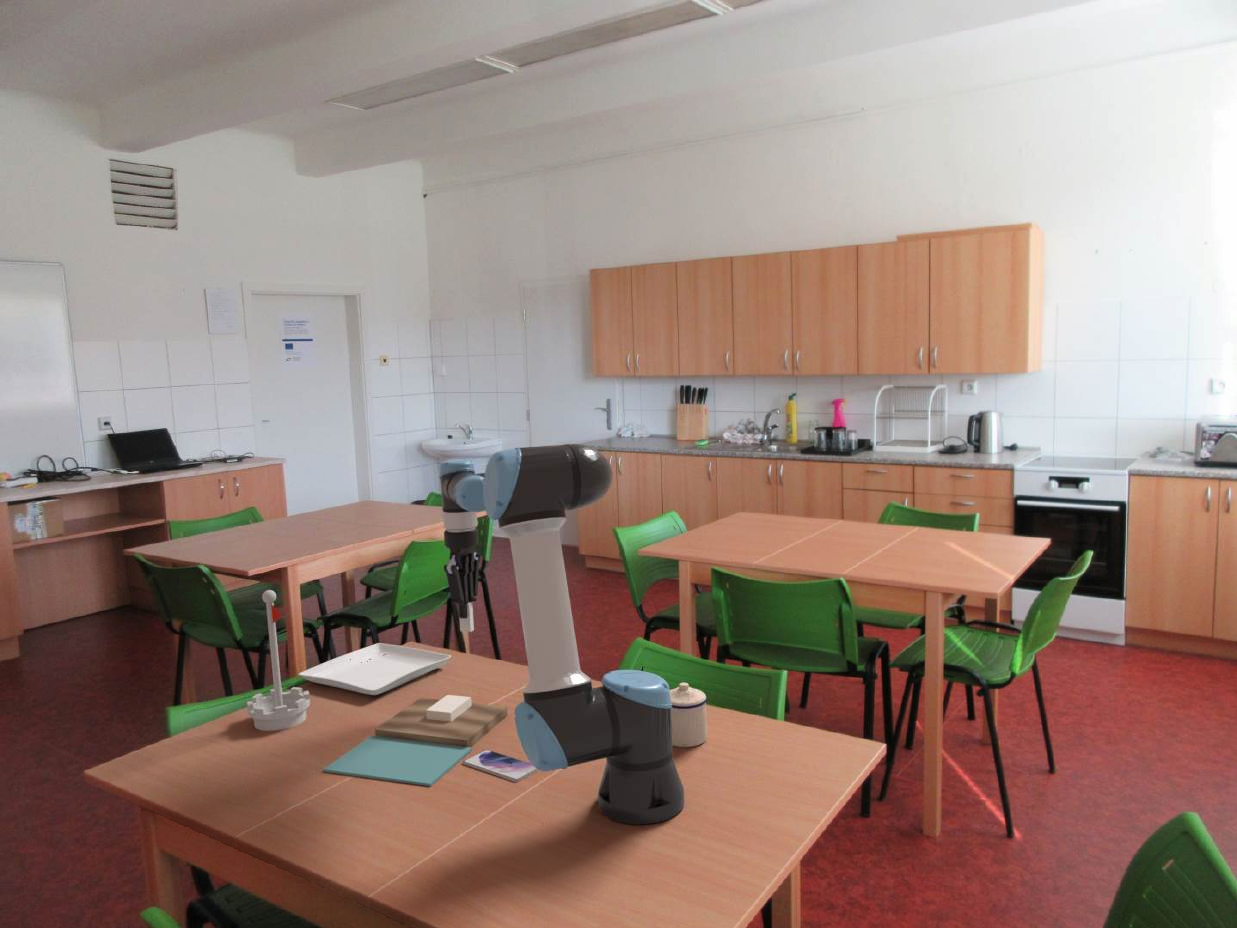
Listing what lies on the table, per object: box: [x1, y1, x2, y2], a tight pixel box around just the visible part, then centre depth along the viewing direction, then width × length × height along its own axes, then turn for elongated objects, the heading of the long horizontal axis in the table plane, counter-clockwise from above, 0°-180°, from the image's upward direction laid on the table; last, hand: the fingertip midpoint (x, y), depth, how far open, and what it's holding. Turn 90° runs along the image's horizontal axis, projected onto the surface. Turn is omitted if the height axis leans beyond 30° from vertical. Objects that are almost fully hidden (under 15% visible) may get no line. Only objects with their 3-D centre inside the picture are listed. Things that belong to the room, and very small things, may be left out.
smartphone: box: [462, 749, 539, 783], centre depth 179 cm, size 7×1×15 cm
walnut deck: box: [374, 697, 509, 748], centre depth 199 cm, size 18×22×2 cm
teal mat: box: [322, 735, 473, 787], centre depth 183 cm, size 16×24×1 cm, turn 70°
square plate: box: [298, 642, 452, 696], centre depth 232 cm, size 27×27×4 cm
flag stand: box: [246, 589, 311, 732], centre depth 204 cm, size 13×13×30 cm
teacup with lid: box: [670, 682, 708, 748], centre depth 187 cm, size 12×9×12 cm
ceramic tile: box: [426, 694, 473, 722], centre depth 201 cm, size 9×6×2 cm, turn 160°
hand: (467, 630), depth 209 cm, fingers closed
